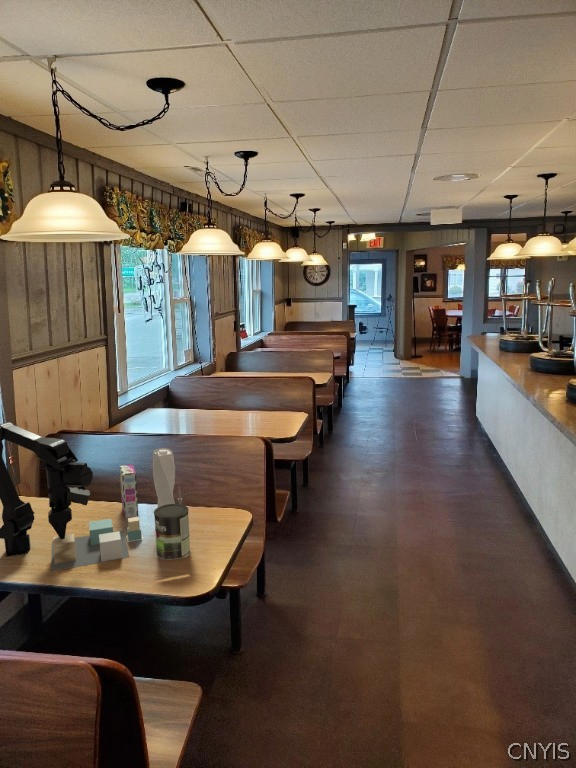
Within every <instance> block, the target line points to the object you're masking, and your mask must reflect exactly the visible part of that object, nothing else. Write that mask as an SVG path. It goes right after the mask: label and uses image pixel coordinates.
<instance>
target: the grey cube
mask: <svg viewBox="0 0 576 768" xmlns="http://www.w3.org/2000/svg"><path fill="white" fill-rule="evenodd" d="M117 531H118V532H112V533H106V534H99V542H100V554H101V561H108V560H113V561H115V560H114V559H119V558H122V546H121V537H120V532H119V530H117ZM119 560H120V559H119ZM108 562H109V561H108Z"/></svg>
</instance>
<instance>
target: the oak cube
mask: <svg viewBox="0 0 576 768" xmlns="http://www.w3.org/2000/svg"><path fill="white" fill-rule="evenodd" d="M75 538H76V536H75V533H74V532H73V533H67V534H65V539H62V540H61V539H60V537H59V536H58V535H55V536H53V537H52V541H53V551H54V561H55V564H57V563H63V562H68V561H74V560H76V547H75Z"/></svg>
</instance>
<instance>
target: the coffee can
mask: <svg viewBox="0 0 576 768" xmlns="http://www.w3.org/2000/svg"><path fill="white" fill-rule="evenodd" d="M153 516H154V528H155V529H154V530H155V546H156V547H155V548H156V556H157V557H158V558H160V559H163V560H168V561H169V560H170V561H171V560H177V559H181V558H183V559H185V557H186V558H187V557H189V555H190V554H191V546H190V545H191V544H190V543H191V540H190V519H189V518H190V517H189V506H187V505H184V504H183V503H182V504H178V503H175V504H168V505H163V506H160V507H158V506H157V508H155V509H154V511H153Z"/></svg>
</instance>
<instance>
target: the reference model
mask: <svg viewBox="0 0 576 768" xmlns="http://www.w3.org/2000/svg"><path fill="white" fill-rule="evenodd" d="M127 523H128V524H127V526H128V527H127V529H126V532H127V535H125V536H126V537H125V539H126V543H130V542H137V541H142V540H144V535H143V533H142V528H141V526H140V519H139V516H134V517H128V518H127Z"/></svg>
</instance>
